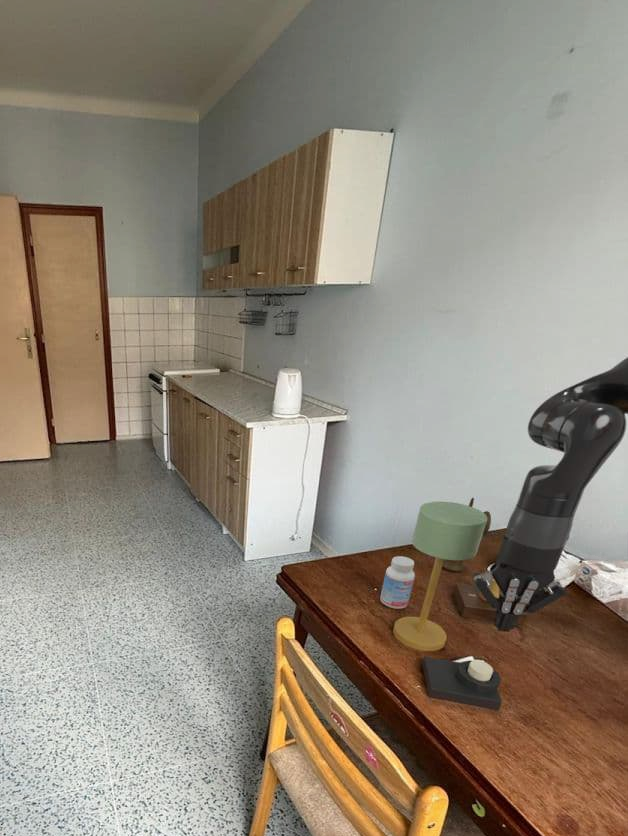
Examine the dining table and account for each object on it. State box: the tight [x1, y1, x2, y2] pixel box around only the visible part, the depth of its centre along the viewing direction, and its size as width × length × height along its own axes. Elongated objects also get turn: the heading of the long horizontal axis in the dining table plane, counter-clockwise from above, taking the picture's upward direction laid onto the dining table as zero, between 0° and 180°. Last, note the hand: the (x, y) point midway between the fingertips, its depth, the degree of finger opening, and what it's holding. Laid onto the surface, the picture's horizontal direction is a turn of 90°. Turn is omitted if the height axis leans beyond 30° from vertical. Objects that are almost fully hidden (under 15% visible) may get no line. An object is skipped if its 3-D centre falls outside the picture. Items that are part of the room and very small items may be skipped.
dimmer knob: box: [479, 578, 499, 601], centre depth 105 cm, size 4×4×6 cm
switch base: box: [421, 656, 503, 711], centre depth 86 cm, size 11×9×4 cm
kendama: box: [442, 497, 492, 573], centre depth 120 cm, size 6×10×20 cm, turn 72°
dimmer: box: [452, 582, 528, 627], centre depth 107 cm, size 12×10×3 cm
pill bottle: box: [379, 555, 416, 610], centre depth 108 cm, size 6×6×11 cm
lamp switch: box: [467, 659, 494, 681], centre depth 84 cm, size 4×4×2 cm
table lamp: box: [392, 501, 487, 652], centre depth 93 cm, size 11×11×28 cm
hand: (501, 628), depth 79 cm, fingers closed
